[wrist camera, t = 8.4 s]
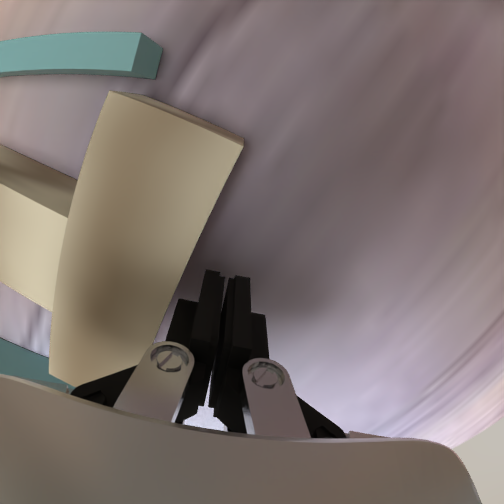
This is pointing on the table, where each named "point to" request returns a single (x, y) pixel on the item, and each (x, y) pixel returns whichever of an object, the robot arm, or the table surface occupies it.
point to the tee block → (111, 230)
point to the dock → (71, 62)
